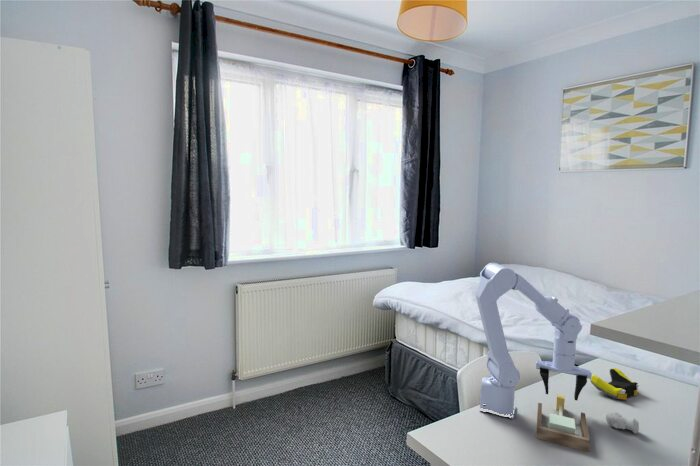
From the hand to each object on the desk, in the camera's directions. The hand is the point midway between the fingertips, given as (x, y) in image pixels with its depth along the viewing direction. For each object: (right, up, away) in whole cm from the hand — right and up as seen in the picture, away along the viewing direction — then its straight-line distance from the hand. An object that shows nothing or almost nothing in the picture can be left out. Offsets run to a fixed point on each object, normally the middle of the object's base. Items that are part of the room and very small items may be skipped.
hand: (561, 395), depth 119 cm
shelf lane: (-5, -5, -10) cm, 13 cm away
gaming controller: (+24, -4, +12) cm, 27 cm away
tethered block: (-4, -5, -6) cm, 9 cm away
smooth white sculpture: (+12, -6, -9) cm, 16 cm away
